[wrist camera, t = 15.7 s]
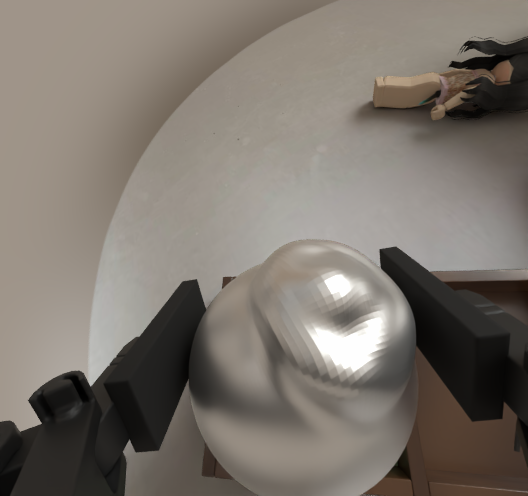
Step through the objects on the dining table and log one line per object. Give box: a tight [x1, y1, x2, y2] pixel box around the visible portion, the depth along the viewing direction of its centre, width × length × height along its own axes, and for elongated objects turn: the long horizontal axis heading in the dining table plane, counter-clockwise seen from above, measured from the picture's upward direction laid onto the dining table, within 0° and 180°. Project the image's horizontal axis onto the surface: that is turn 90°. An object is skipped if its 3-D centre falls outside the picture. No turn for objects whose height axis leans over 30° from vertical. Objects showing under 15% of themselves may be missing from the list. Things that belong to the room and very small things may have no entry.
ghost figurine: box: [189, 239, 418, 496], centre depth 11 cm, size 9×9×10 cm
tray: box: [202, 269, 528, 496], centre depth 18 cm, size 24×12×3 cm, turn 88°
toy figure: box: [373, 36, 528, 120], centre depth 26 cm, size 7×6×15 cm
